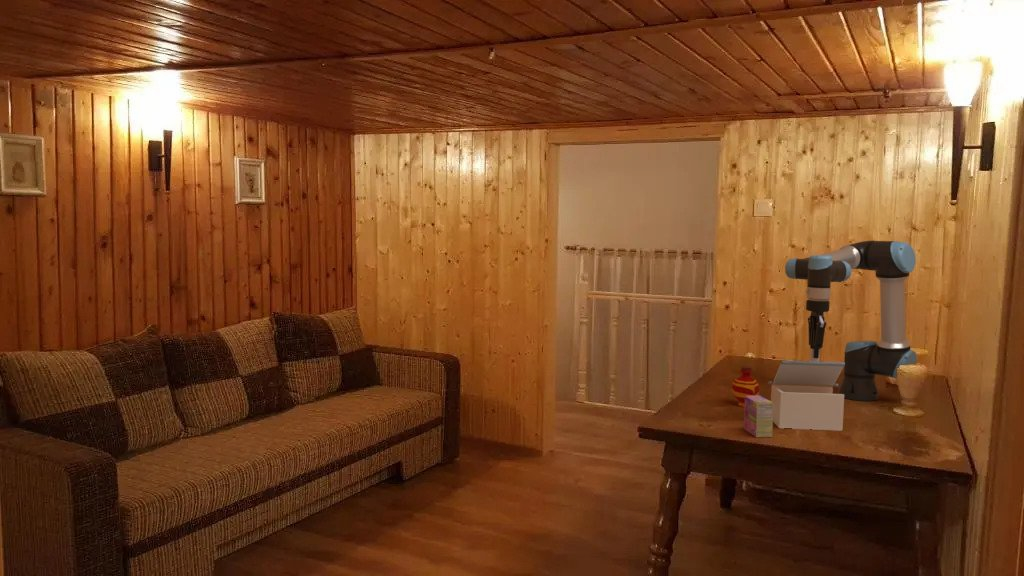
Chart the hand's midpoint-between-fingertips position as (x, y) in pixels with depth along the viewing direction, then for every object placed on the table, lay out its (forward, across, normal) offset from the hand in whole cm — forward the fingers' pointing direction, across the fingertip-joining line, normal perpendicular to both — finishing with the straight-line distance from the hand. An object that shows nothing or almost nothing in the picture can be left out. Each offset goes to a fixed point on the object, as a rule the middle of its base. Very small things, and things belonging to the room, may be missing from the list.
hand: (814, 366), depth 266 cm
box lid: (+3, -1, -2) cm, 3 cm away
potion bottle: (+21, -26, -18) cm, 38 cm away
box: (+21, +14, -22) cm, 33 cm away
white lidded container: (+21, 0, -2) cm, 21 cm away
